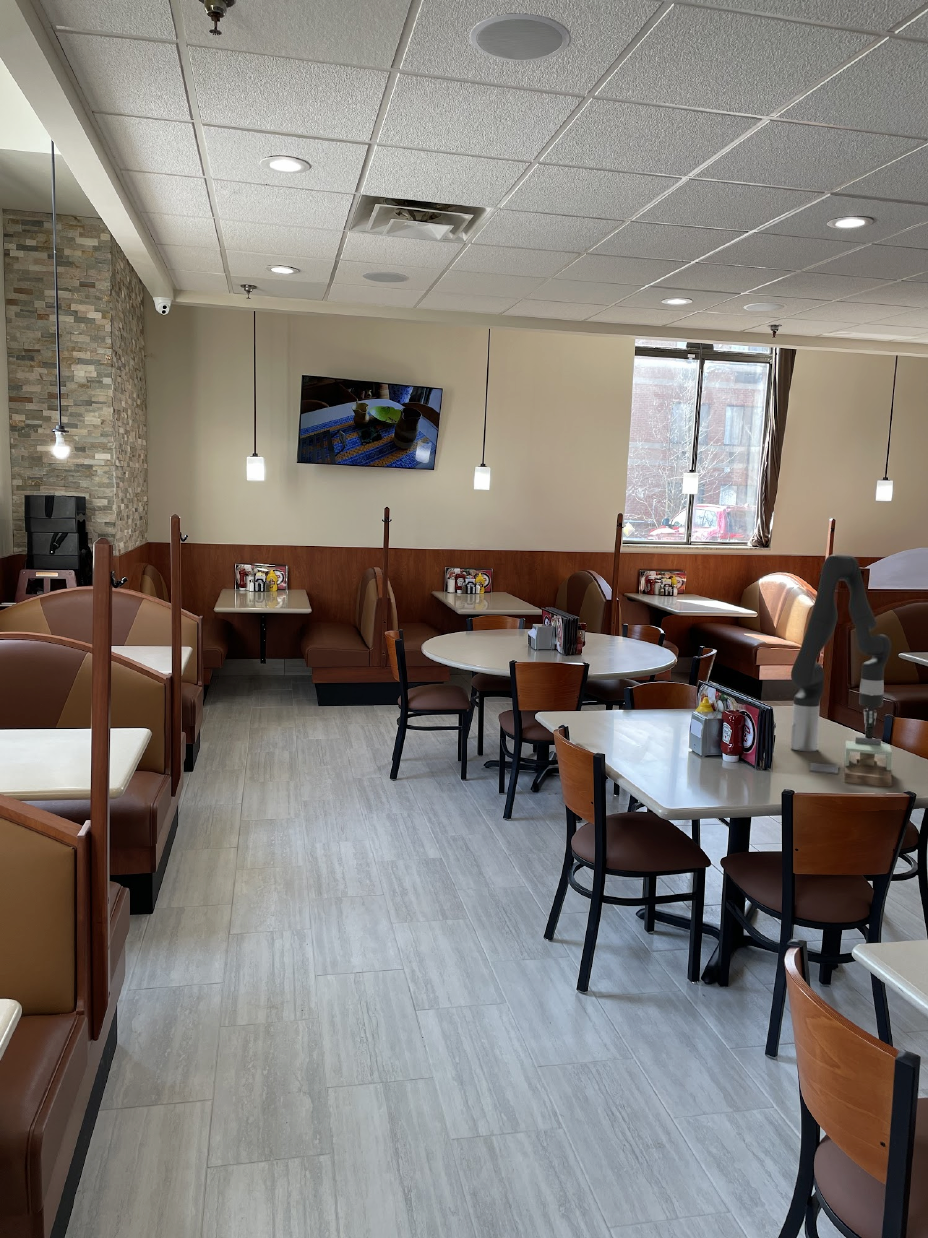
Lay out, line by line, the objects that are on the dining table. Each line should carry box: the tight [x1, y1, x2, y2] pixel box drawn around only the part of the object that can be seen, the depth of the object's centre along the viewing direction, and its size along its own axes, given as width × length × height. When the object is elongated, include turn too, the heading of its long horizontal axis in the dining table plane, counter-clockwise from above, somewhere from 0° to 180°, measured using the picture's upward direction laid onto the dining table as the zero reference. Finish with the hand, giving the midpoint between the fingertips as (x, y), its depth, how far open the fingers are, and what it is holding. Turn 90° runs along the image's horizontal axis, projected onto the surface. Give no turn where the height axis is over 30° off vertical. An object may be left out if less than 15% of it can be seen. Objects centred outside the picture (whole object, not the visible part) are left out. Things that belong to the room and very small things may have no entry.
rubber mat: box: [809, 762, 839, 775], centre depth 313 cm, size 9×9×1 cm
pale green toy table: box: [844, 736, 893, 771], centre depth 308 cm, size 14×11×8 cm
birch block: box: [859, 752, 876, 766], centre depth 311 cm, size 4×4×6 cm
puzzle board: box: [843, 754, 892, 788], centre depth 307 cm, size 14×25×3 cm, turn 157°
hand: (868, 740), depth 312 cm, fingers closed
